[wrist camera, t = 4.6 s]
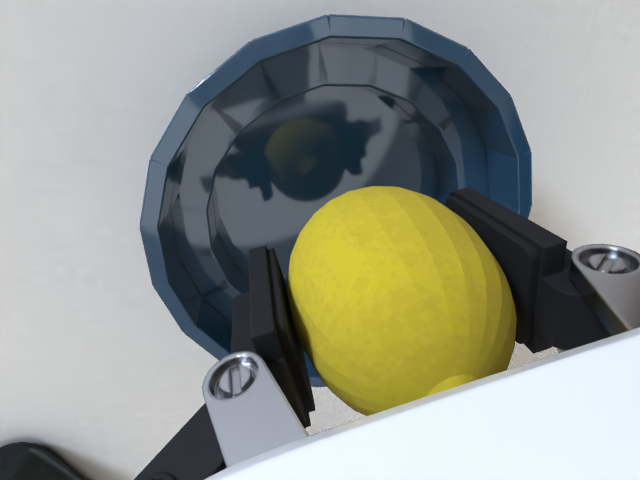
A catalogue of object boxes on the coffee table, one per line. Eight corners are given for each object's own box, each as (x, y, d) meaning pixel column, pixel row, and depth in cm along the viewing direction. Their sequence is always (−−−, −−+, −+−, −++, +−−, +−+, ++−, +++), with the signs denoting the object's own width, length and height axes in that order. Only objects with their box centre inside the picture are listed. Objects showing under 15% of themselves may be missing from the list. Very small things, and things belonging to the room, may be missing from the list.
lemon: (439, 175, 13) (667, 309, 6) (388, 296, 15) (511, 498, 8) (296, 139, 11) (377, 263, 4) (262, 280, 14) (280, 513, 7)
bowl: (293, -66, 13) (313, -129, 9) (524, 167, 19) (598, 192, 15) (110, 249, 17) (65, 305, 13) (350, 359, 22) (371, 421, 18)
